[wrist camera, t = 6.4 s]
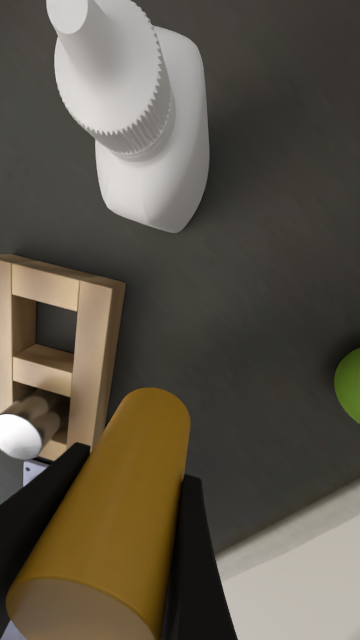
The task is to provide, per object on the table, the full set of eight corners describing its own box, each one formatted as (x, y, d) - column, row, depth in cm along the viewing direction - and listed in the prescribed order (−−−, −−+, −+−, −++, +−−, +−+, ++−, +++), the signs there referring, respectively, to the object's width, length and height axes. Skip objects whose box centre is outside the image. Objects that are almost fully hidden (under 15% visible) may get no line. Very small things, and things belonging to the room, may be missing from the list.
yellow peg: (181, 456, 13) (144, 693, 6) (114, 437, 14) (5, 643, 7) (198, 398, 12) (175, 615, 5) (124, 378, 12) (1, 555, 5)
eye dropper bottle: (124, 191, 16) (-114, 50, 4) (188, 118, 14) (75, -435, 3) (169, 243, 16) (62, 239, 5) (235, 179, 15) (309, -55, 3)
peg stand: (126, 282, 17) (112, 288, 15) (102, 448, 23) (88, 471, 20) (11, 253, 18) (-20, 254, 16) (13, 421, 23) (-10, 441, 21)
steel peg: (78, 419, 22) (41, 466, 17) (38, 407, 22) (-10, 450, 18) (82, 382, 21) (43, 423, 16) (39, 370, 21) (-12, 407, 16)
